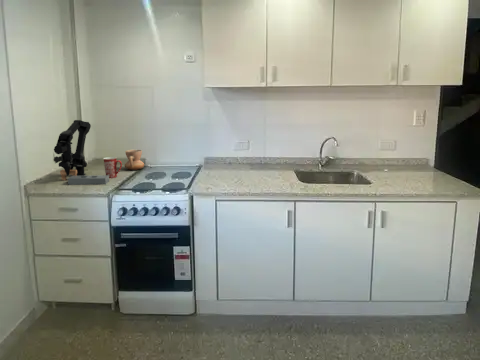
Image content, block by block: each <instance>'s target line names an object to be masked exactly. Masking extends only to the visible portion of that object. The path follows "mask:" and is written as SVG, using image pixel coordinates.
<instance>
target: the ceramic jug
mask: <svg viewBox="0 0 480 360" xmlns="http://www.w3.org/2000/svg"><path fill="white" fill-rule="evenodd" d="M124 152H125V155H126V158H127V161H126V162H125V163H124V168H125V169H127V170H130V171H138V170H141V169H143V168H145V163H144V162H143V161H142V160H141V158H142V155H143V149H127V150H125V151H124Z"/></svg>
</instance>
